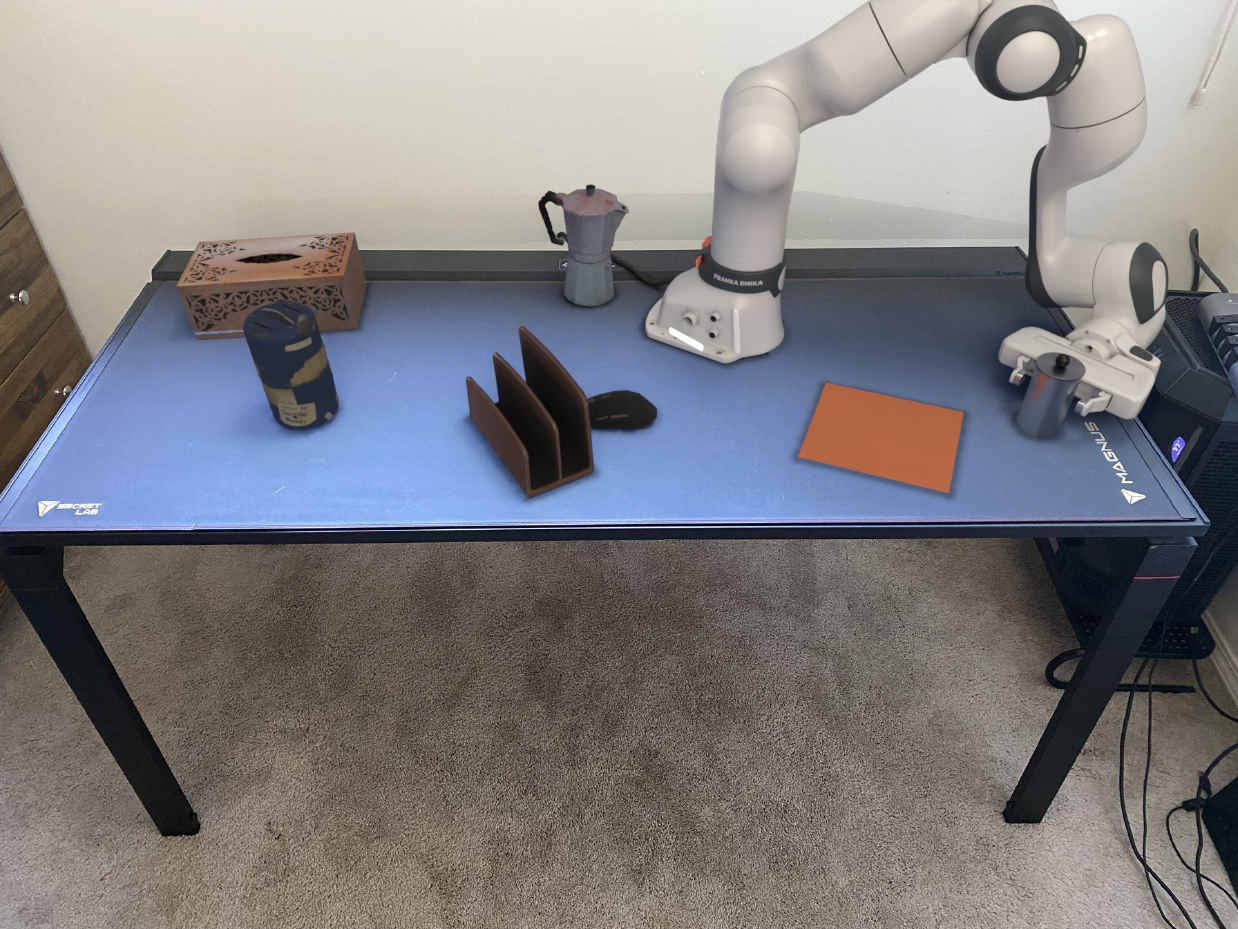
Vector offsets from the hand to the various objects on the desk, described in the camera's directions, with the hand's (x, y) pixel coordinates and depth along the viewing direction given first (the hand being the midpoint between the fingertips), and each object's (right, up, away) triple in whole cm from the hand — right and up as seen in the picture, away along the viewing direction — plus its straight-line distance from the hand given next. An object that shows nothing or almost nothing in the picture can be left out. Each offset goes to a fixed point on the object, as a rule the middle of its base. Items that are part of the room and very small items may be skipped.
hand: (1046, 394), depth 122 cm
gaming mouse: (-60, -3, +7) cm, 61 cm away
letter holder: (-71, -7, +3) cm, 71 cm away
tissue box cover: (-115, +17, +30) cm, 120 cm away
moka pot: (-64, +20, +33) cm, 75 cm away
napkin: (-22, -5, +3) cm, 22 cm away
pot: (+1, -4, +4) cm, 6 cm away
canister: (-104, -2, +9) cm, 105 cm away
